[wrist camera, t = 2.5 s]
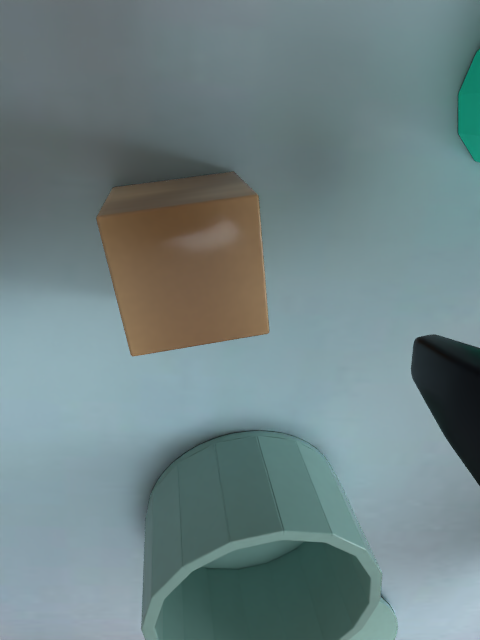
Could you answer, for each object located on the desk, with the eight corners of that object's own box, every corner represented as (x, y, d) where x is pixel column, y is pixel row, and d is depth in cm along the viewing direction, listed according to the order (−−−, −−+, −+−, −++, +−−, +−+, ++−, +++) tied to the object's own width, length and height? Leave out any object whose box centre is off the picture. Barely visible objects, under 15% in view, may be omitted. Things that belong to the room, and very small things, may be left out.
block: (235, 170, 18) (259, 194, 14) (246, 283, 20) (270, 334, 16) (111, 186, 17) (95, 216, 13) (137, 300, 20) (131, 357, 15)
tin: (335, 413, 25) (388, 508, 19) (335, 545, 30) (376, 651, 24) (128, 452, 24) (117, 566, 18) (166, 583, 29) (167, 702, 23)
